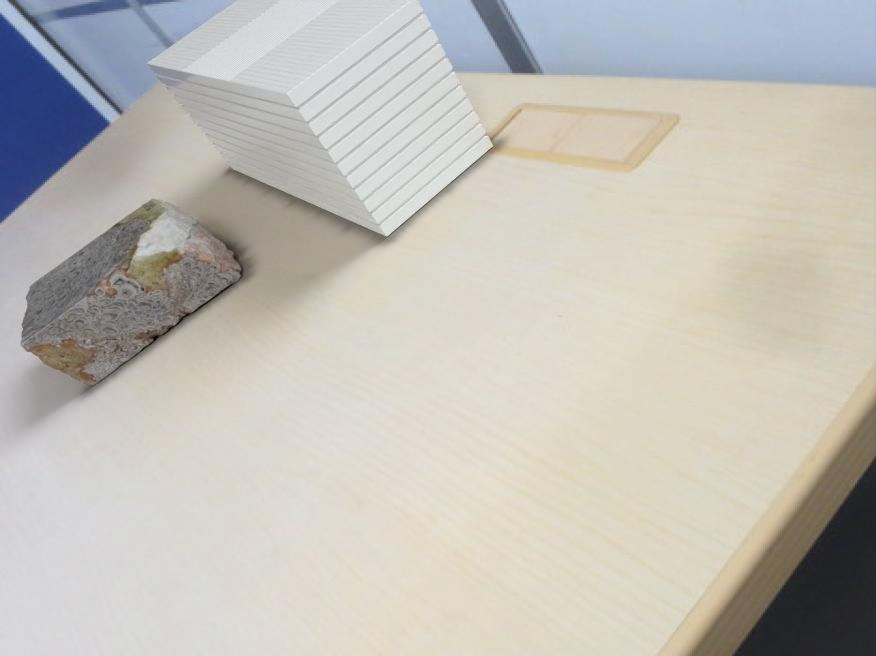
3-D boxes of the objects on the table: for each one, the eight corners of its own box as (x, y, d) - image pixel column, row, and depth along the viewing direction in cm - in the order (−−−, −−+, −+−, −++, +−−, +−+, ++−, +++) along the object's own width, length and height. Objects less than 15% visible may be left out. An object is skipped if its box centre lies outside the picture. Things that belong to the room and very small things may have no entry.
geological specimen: (11, 295, 58) (165, 176, 60) (81, 348, 63) (223, 235, 64) (9, 347, 51) (185, 209, 53) (89, 402, 55) (249, 273, 57)
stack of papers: (233, 169, 73) (146, 63, 65) (316, 106, 76) (241, -4, 68) (387, 237, 52) (286, 93, 45) (493, 146, 55) (416, -4, 47)
